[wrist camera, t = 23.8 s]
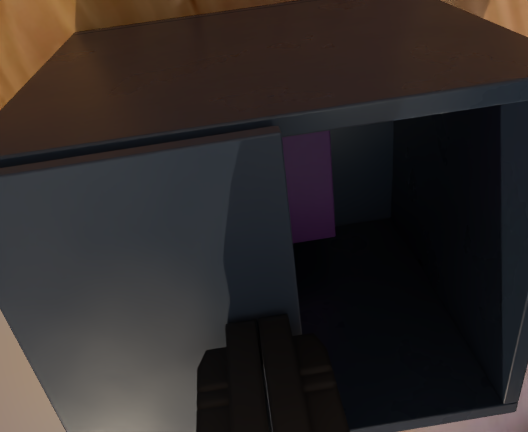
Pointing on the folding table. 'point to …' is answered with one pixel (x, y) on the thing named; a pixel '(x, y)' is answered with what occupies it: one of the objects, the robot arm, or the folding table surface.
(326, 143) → the block
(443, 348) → the bin
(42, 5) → the folding table surface
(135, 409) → the box flap
